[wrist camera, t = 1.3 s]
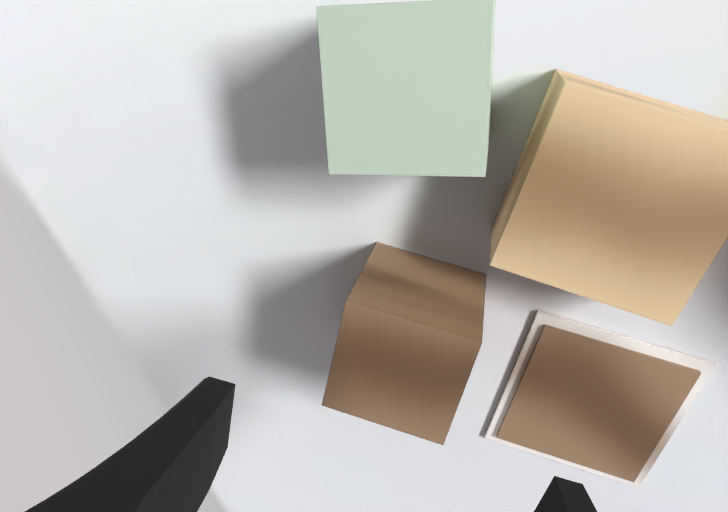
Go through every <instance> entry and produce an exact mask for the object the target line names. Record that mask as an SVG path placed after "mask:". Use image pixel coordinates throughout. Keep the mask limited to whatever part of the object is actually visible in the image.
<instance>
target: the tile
mask: <svg viewBox="0 0 728 512" xmlns="http://www.w3.org/2000/svg"><path fill="white" fill-rule="evenodd" d="M714 367H715V364H714V362H710V361H707V360H704V359H700V358H697V357H693V356H690V355H687V354H683V353H680V352H677V351H673V350H670V349H667V348H663V347H660V346H656V345H653V344H650V343H646V342H643V341H640V340H636V339H633V338H630V337H626V336H623V335H619V334H616V333H613V332H609V331H606V330H603V329H599V328H596V327H592V326H589V325H586V324H582V323H579V322H576V321H572V320H569V319H566V318H562V317H559V316H555V315H552V314H549V313H545V312H542V311H539V310H538V311H537V313H536V315H535V318H534V320H533V323H532V325H531V327H530V330H529V332H528V334H527V337H526V339H525V342H524V344H523V346H522V349H521V351H520V353H519V356H518V358H517V361H516V363H515V365H514V368H513V370H512V373H511V375H510V377H509V380H508V382H507V384H506V387H505V389H504V392H503V394H502V396H501V399H500V401H499V403H498V406H497V408H496V411H495V413H494V415H493V418H492V420H491V422H490V425H489V427H488V430H487V432H486V434H485V439H488V440H492V441H495V442H498V443H501V444H504V445H507V446H510V447H513V448H516V449H519V450H522V451H525V452H528V453H531V454H535V455H538V456H541V457H544V458H547V459H550V460H553V461H556V462H559V463H562V464H565V465H568V466H571V467H575V468H578V469H581V470H584V471H587V472H590V473H593V474H596V475H599V476H602V477H605V478H608V479H611V480H615V481H618V482H621V483H624V484H627V485H630V486H633V487H636V488H639V487H640V485H641V483H642V482H643V480H644V479H645V477H646V475H647V474H648V472H649V471H650V469H651V467H652V466H653V464H654V463H655V461H656V459H657V458H658V456H659V455H660V453H661V451H662V450H663V448H664V447H665V445H666V443H667V442H668V440H669V439H670V437H671V436H672V434H673V432H674V431H675V429H676V428H677V426H678V424H679V423H680V421H681V420H682V418H683V416H684V415H685V413H686V412H687V410H688V408H689V407H690V405H691V404H692V402H693V400H694V399H695V397H696V396H697V394H698V392H699V391H700V389H701V388H702V386H703V385H704V383H705V381H706V380H707V378H708V377H709V375H710V373H711V372H712V370H713V369H714Z"/></svg>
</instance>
